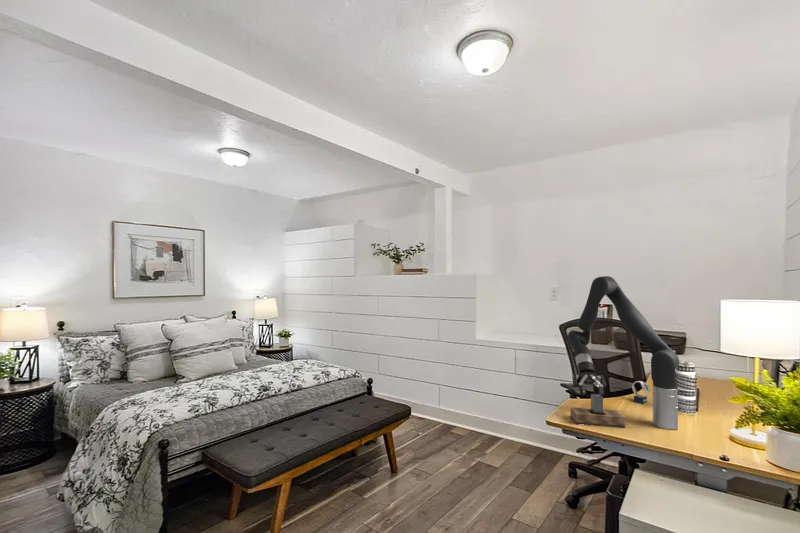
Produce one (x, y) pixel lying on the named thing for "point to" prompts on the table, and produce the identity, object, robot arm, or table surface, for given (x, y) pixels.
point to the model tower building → (686, 387)
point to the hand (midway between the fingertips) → (592, 394)
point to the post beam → (597, 417)
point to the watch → (638, 397)
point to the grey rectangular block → (596, 404)
